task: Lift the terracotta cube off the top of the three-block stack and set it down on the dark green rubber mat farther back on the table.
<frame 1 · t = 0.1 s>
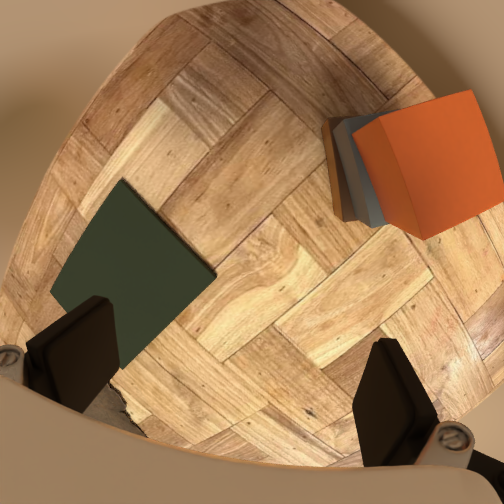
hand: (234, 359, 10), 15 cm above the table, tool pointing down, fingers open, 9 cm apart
mat: (119, 285, 27), on the table
middle block: (386, 164, 18), point 4 cm above the table, touching bottom block, top cube
bottom block: (370, 166, 22), on the table, touching middle block
top cube: (408, 162, 14), point 8 cm above the table, touching middle block
rusty handled basin: (118, 438, 34), on the table
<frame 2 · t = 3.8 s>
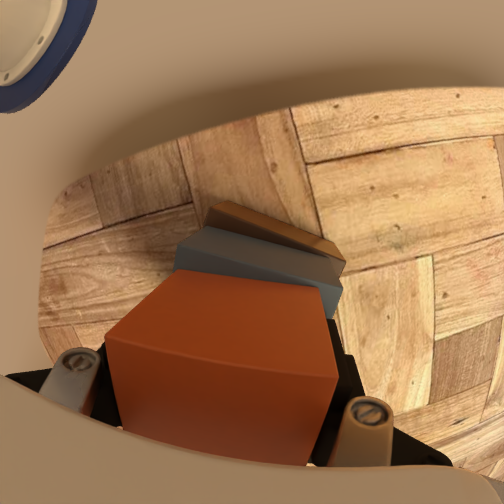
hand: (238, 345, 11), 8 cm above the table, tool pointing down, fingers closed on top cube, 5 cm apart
middle block: (252, 298, 15), point 4 cm above the table, touching bottom block, top cube
bottom block: (259, 273, 19), on the table, touching middle block
top cube: (240, 339, 11), point 8 cm above the table, touching gripper, middle block
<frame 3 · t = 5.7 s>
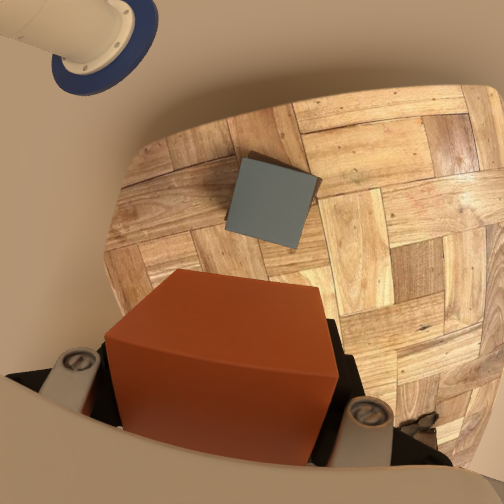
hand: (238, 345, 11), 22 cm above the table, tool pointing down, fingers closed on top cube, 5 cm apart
middle block: (272, 199, 27), point 4 cm above the table, touching bottom block
bottom block: (274, 196, 31), on the table, touching middle block
top cube: (240, 339, 11), point 22 cm above the table, touching gripper
rusty handled basin: (356, 460, 40), on the table
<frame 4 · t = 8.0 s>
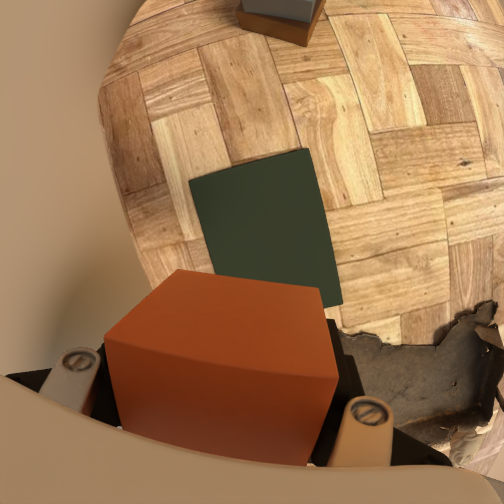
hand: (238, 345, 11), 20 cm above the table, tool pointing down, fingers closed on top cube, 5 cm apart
mat: (268, 242, 30), on the table
frog figurine: (457, 431, 34), on the table
bottom block: (284, 13, 24), on the table, touching middle block
top cube: (240, 340, 11), point 20 cm above the table, touching gripper
rusty handled basin: (403, 382, 33), on the table
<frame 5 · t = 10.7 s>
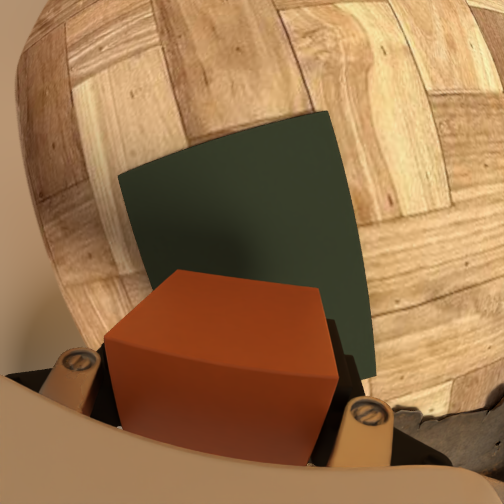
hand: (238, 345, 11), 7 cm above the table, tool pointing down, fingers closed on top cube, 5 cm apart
mat: (255, 281, 17), on the table
top cube: (240, 340, 11), point 6 cm above the table, touching gripper
rusty handled basin: (439, 452, 20), on the table
when the fingers open (1 cm above the table, at t = 12.5 s): top cube stays where it is, resting on mat.
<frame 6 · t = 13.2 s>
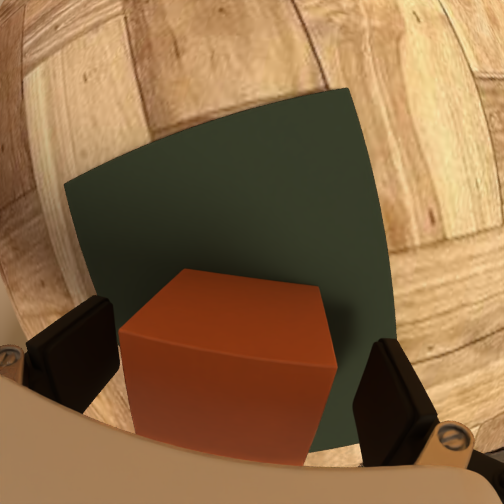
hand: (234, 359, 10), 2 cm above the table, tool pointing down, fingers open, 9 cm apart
mat: (245, 328, 12), on the table
top cube: (244, 336, 12), point 1 cm above the table, touching mat
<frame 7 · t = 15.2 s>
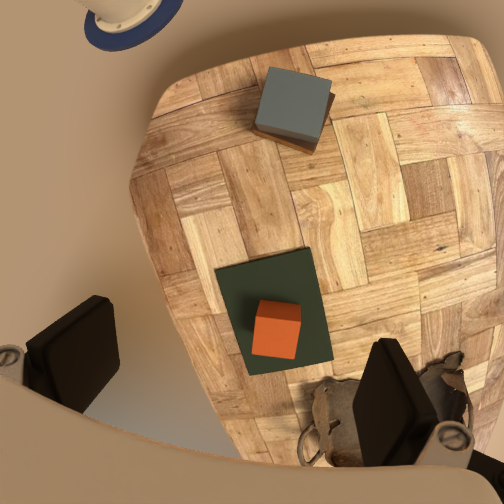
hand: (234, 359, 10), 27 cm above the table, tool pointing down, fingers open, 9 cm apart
mat: (277, 317, 38), on the table
middle block: (293, 110, 29), point 4 cm above the table, touching bottom block
bottom block: (293, 118, 33), on the table, touching middle block
top cube: (277, 319, 38), point 1 cm above the table, touching mat
rusty handled basin: (383, 413, 40), on the table
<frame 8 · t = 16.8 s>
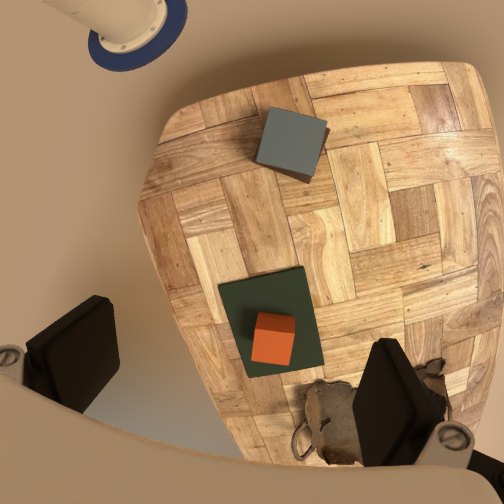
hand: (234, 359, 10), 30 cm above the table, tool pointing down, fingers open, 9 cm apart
mat: (274, 327, 43), on the table
middle block: (291, 144, 32), point 4 cm above the table, touching bottom block
bottom block: (290, 147, 36), on the table, touching middle block
top cube: (274, 329, 42), point 1 cm above the table, touching mat
rusty handled basin: (370, 412, 45), on the table
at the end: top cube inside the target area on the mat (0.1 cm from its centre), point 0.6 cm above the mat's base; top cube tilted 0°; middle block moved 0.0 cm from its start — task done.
